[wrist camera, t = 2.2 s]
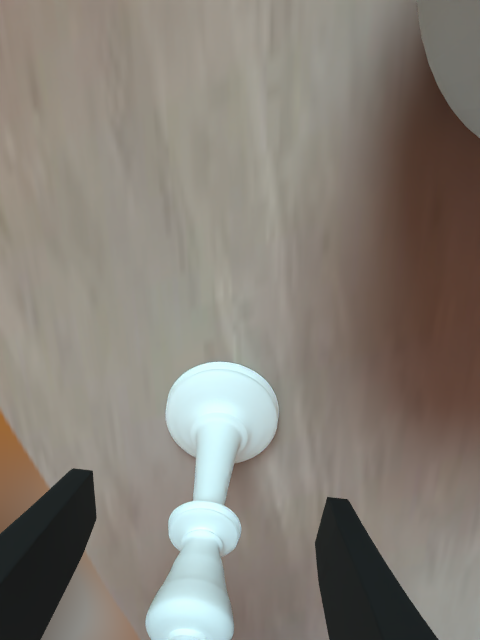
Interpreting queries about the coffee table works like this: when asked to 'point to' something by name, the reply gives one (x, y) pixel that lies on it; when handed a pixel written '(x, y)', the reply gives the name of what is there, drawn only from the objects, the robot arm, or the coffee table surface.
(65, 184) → the coffee table surface
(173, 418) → the chess piece
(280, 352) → the coffee table surface
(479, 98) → the teacup
